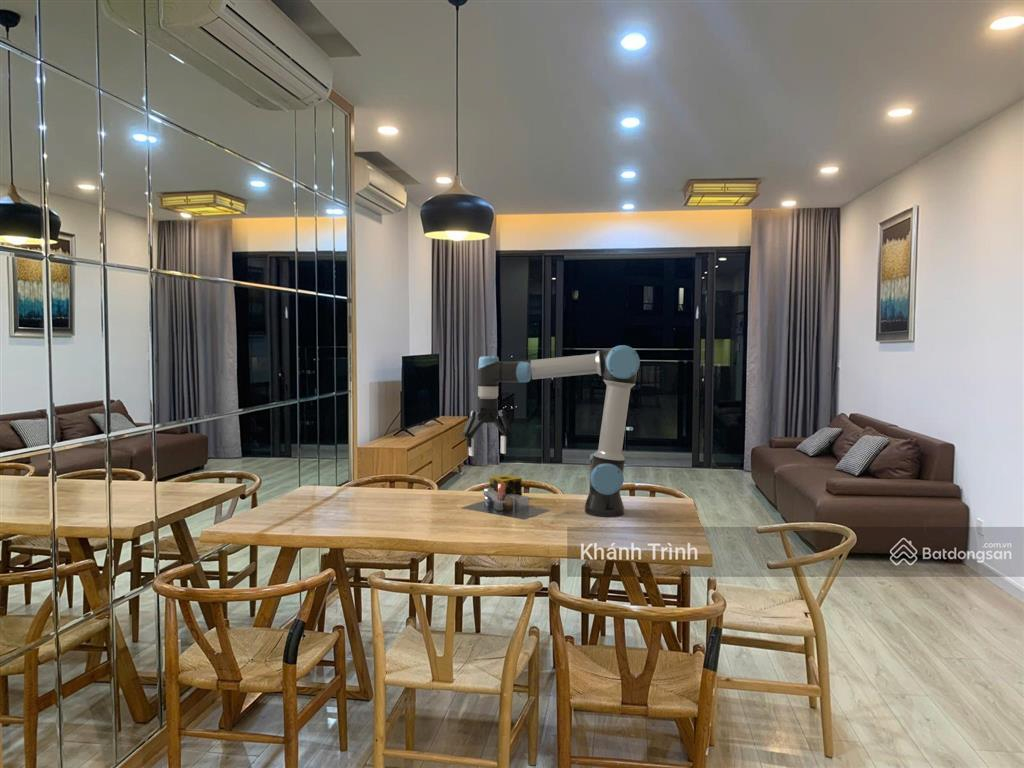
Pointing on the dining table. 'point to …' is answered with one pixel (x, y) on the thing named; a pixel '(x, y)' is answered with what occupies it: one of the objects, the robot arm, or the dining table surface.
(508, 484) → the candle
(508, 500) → the walnut
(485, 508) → the gray mechanism base plate
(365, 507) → the dining table surface
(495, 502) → the lever
